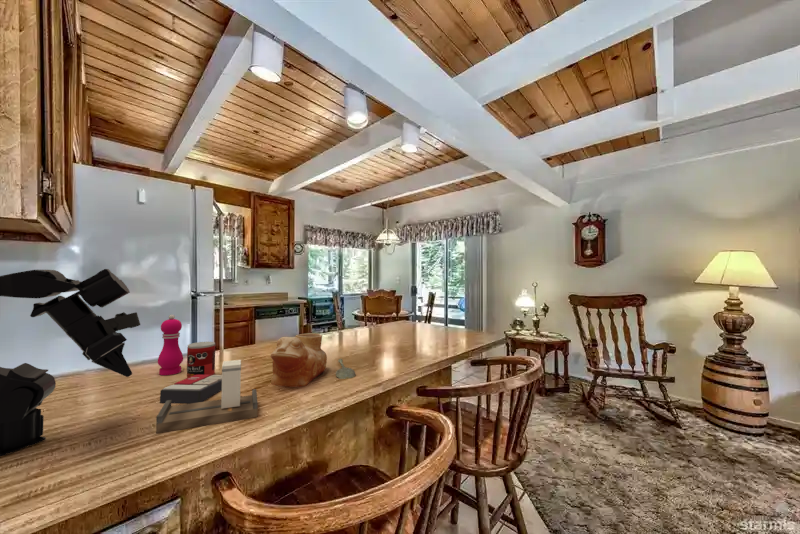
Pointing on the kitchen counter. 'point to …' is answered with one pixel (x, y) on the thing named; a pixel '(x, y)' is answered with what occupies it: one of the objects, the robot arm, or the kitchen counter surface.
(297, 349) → the ceramic vessel
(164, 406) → the panel
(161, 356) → the pepper mill
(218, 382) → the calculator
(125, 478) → the kitchen counter surface
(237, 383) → the slider knob
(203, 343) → the canned food
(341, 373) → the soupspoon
